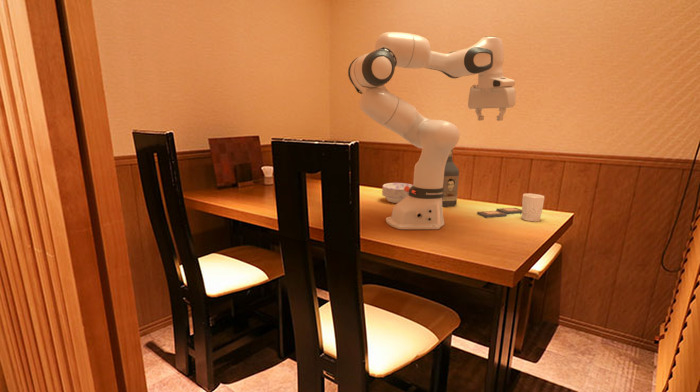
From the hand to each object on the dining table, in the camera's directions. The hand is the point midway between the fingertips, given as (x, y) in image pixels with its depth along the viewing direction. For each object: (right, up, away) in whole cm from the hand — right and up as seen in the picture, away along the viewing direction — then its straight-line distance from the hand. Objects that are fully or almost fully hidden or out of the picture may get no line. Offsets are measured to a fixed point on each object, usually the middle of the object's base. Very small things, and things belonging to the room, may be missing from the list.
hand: (490, 120), depth 143 cm
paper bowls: (-31, -32, +36) cm, 57 cm away
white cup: (+20, -39, +9) cm, 44 cm away
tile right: (+17, -36, +20) cm, 44 cm away
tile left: (+6, -37, +14) cm, 40 cm away
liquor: (-10, -34, +31) cm, 46 cm away
